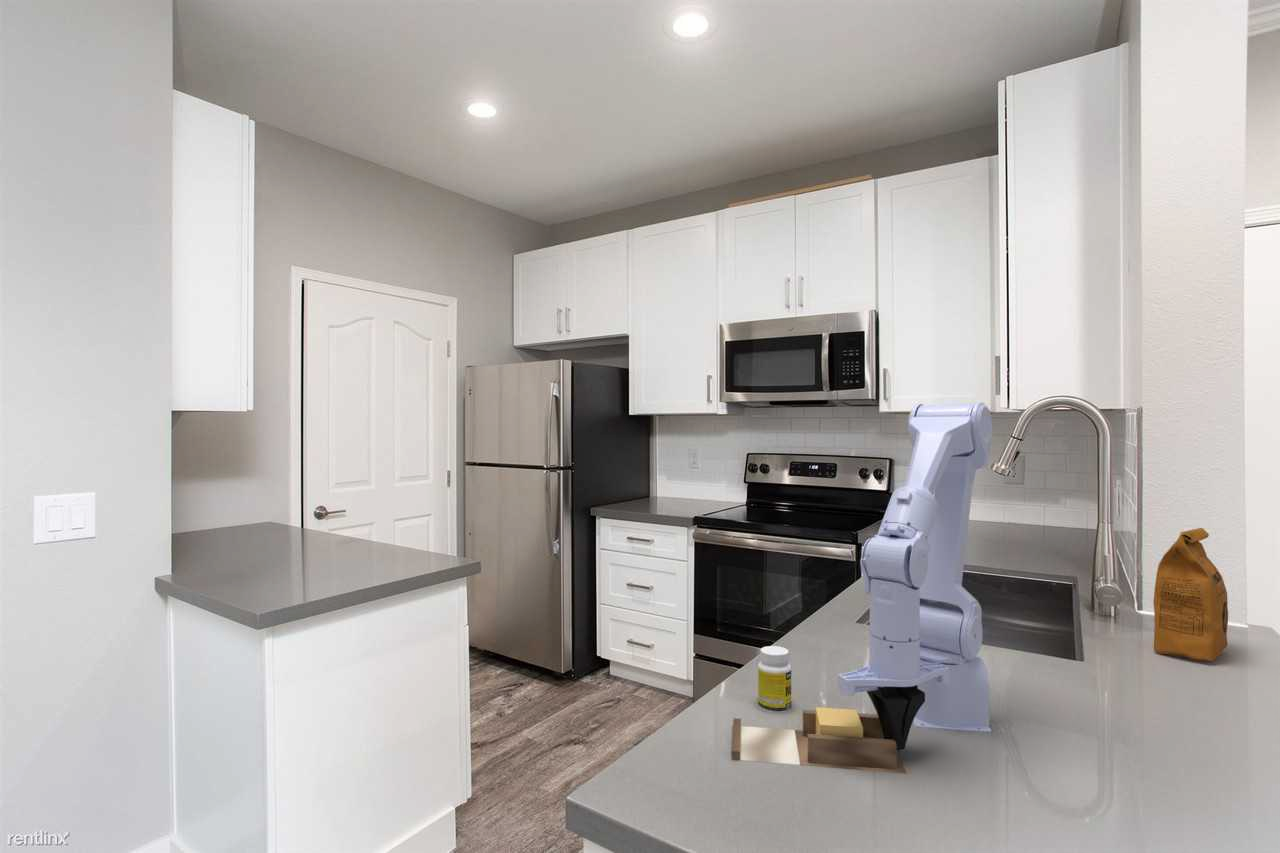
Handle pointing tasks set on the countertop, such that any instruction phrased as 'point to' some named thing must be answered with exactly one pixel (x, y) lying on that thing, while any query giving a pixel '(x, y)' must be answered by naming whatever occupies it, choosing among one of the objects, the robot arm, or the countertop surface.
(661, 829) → the countertop surface
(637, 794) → the countertop surface
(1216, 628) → the coffee package
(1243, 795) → the countertop surface
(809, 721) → the walnut chute
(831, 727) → the ochre block
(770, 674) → the supplement bottle
